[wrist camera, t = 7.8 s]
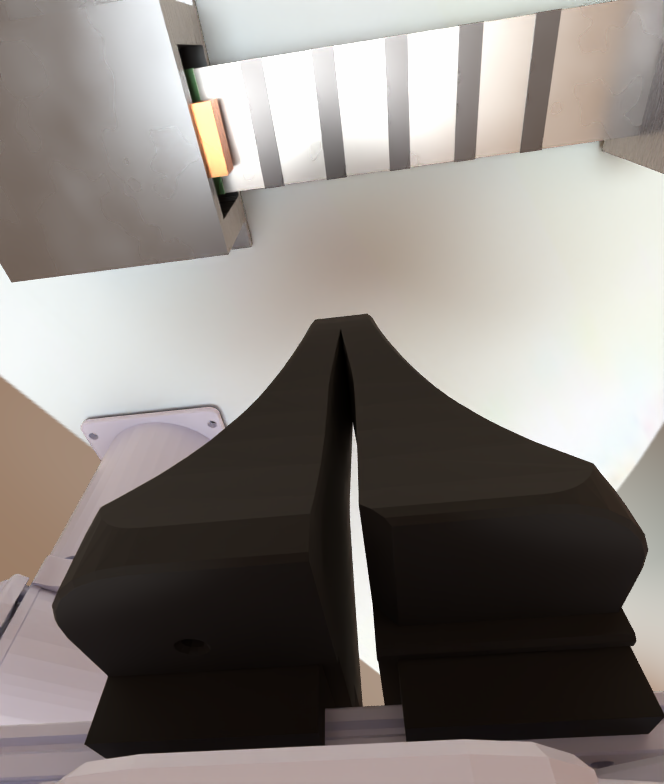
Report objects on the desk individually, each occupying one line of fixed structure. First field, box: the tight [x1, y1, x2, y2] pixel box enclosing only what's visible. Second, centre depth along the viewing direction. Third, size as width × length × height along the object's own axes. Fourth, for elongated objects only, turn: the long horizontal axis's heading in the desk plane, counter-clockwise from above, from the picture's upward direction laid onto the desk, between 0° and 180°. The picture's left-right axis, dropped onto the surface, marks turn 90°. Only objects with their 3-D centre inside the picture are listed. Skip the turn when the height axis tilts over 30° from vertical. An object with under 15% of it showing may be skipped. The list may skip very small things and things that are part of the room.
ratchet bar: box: [184, 0, 664, 195], centre depth 14 cm, size 5×19×5 cm, turn 97°
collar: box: [0, 0, 252, 282], centre depth 15 cm, size 9×9×4 cm
